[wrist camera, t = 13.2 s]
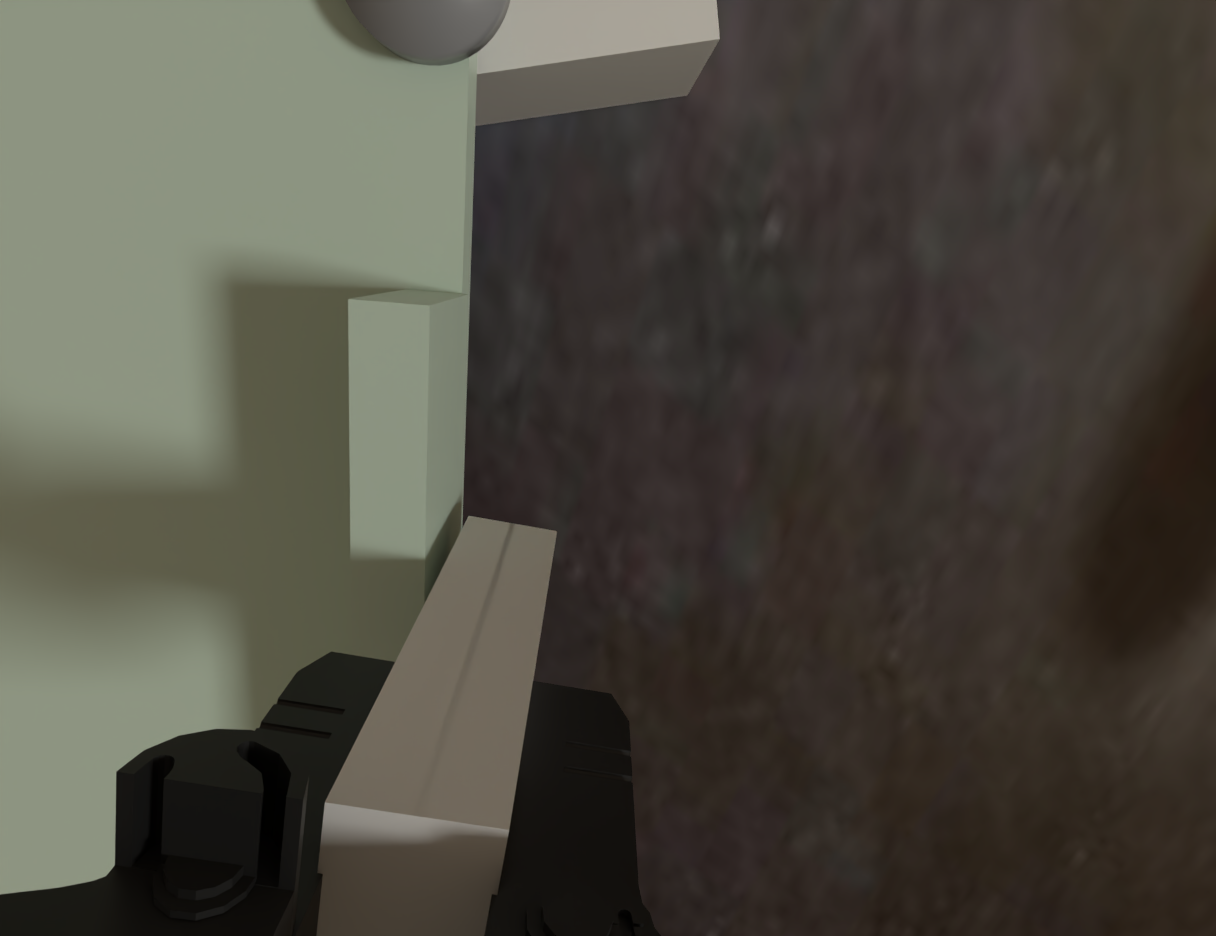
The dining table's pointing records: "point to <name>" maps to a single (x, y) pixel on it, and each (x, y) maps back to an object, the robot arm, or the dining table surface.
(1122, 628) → the dining table surface
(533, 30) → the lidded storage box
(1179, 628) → the dining table surface
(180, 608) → the cover
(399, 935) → the robot arm
